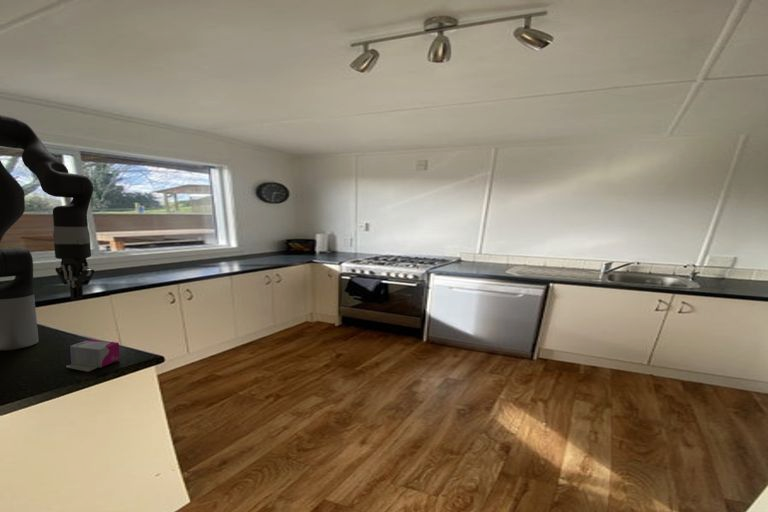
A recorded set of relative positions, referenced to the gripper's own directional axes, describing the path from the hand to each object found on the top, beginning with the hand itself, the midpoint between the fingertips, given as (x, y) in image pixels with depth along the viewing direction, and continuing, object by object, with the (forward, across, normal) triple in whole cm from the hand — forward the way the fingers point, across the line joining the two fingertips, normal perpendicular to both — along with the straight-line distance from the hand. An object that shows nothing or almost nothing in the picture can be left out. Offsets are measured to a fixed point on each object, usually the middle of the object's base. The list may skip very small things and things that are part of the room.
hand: (77, 299), depth 92 cm
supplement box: (+17, -1, 0) cm, 17 cm away
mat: (+20, +5, 0) cm, 20 cm away
